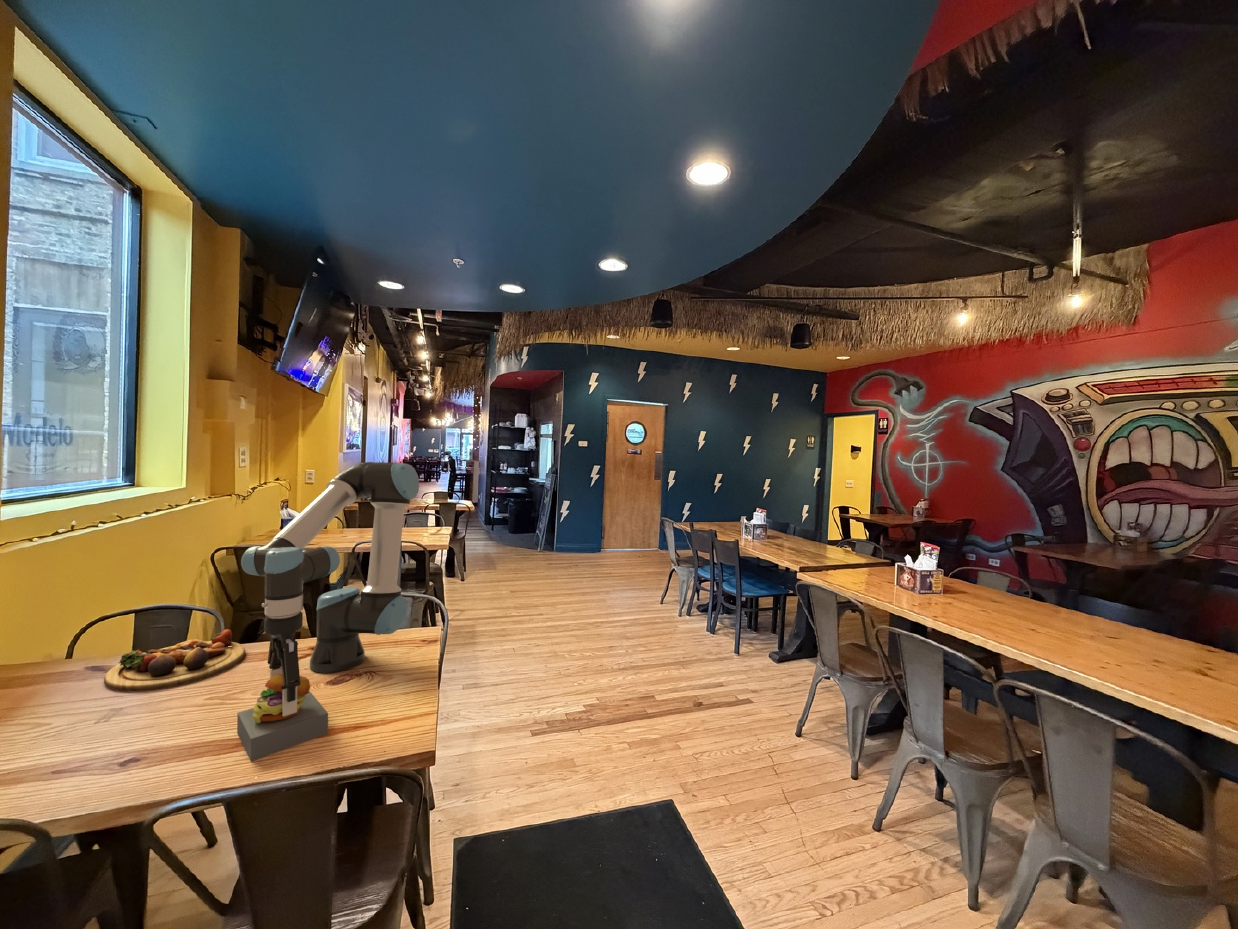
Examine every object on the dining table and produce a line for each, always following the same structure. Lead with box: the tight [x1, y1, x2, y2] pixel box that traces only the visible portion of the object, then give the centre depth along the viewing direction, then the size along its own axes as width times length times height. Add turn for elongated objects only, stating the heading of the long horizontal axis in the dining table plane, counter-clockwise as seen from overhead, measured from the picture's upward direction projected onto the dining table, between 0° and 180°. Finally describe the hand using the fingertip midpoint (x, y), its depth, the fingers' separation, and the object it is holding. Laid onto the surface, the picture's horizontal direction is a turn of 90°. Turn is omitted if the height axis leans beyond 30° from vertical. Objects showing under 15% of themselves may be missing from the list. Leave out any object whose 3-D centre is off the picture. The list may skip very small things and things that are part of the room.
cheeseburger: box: [253, 674, 311, 723], centre depth 116 cm, size 10×11×10 cm
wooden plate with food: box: [103, 629, 246, 692], centre depth 149 cm, size 32×32×8 cm
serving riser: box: [236, 690, 329, 762], centre depth 116 cm, size 15×15×5 cm
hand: (283, 704), depth 116 cm, fingers open, 11 cm apart
